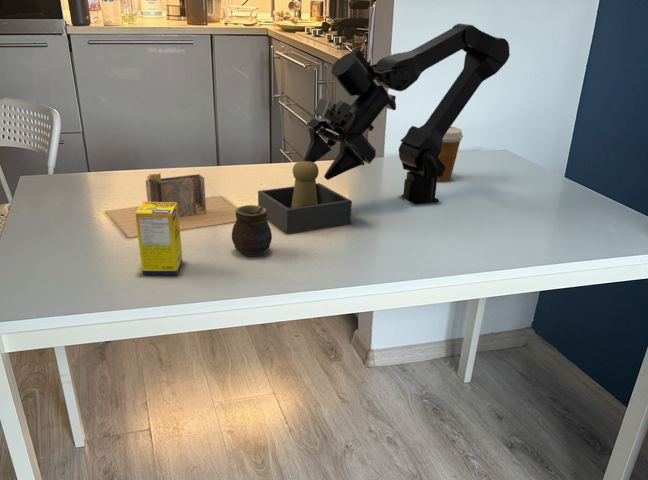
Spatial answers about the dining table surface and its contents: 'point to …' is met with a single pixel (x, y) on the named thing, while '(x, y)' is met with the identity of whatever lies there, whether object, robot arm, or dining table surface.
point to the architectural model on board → (180, 203)
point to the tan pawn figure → (305, 184)
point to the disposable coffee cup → (449, 151)
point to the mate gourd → (251, 230)
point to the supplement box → (159, 238)
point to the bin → (305, 209)
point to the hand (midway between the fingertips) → (314, 172)
